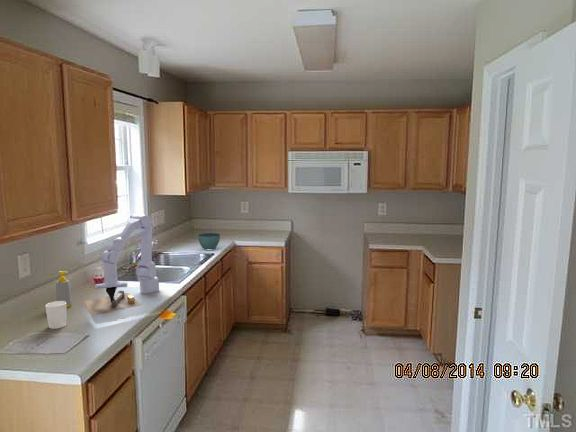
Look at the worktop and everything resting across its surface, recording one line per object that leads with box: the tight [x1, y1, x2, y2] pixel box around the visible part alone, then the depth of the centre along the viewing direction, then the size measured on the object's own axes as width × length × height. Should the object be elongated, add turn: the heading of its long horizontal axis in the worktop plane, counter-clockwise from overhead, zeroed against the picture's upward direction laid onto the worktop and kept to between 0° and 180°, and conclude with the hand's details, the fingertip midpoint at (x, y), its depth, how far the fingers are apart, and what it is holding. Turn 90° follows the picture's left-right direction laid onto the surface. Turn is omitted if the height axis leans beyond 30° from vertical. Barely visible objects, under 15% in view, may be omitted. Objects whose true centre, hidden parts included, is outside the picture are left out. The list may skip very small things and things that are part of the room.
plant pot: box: [197, 232, 221, 250], centre depth 331 cm, size 18×18×12 cm
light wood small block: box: [127, 294, 136, 303], centre depth 200 cm, size 2×4×3 cm, turn 36°
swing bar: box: [111, 290, 125, 306], centre depth 201 cm, size 16×3×3 cm, turn 9°
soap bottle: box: [55, 270, 73, 309], centre depth 198 cm, size 7×7×18 cm
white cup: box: [44, 301, 68, 330], centre depth 174 cm, size 8×8×10 cm
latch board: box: [82, 292, 142, 316], centre depth 199 cm, size 22×24×2 cm
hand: (112, 301), depth 197 cm, fingers closed
